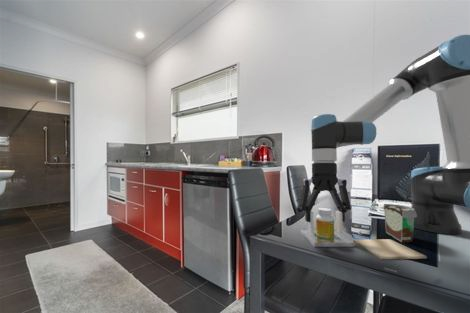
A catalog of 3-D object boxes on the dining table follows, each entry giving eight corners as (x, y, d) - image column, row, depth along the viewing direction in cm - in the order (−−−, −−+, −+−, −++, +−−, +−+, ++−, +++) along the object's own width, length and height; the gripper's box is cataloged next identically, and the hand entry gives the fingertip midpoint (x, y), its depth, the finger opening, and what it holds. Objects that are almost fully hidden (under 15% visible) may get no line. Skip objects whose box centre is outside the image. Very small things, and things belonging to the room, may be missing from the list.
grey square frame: (333, 232, 72) (333, 229, 72) (354, 246, 60) (354, 242, 60) (300, 233, 72) (300, 229, 72) (314, 246, 60) (314, 242, 60)
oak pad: (390, 241, 65) (390, 239, 65) (426, 258, 53) (426, 256, 53) (353, 241, 64) (353, 239, 64) (381, 259, 52) (381, 256, 52)
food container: (428, 245, 61) (427, 212, 62) (404, 244, 62) (403, 211, 63) (403, 232, 73) (402, 204, 74) (383, 231, 74) (383, 203, 75)
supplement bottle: (332, 243, 62) (332, 211, 63) (314, 240, 65) (314, 209, 66) (335, 238, 67) (335, 208, 67) (318, 235, 70) (317, 206, 70)
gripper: (349, 162, 71) (350, 228, 70) (288, 162, 71) (288, 228, 70) (363, 162, 64) (365, 235, 63) (295, 162, 63) (296, 236, 62)
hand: (325, 231), depth 66 cm, fingers open, 9 cm apart
